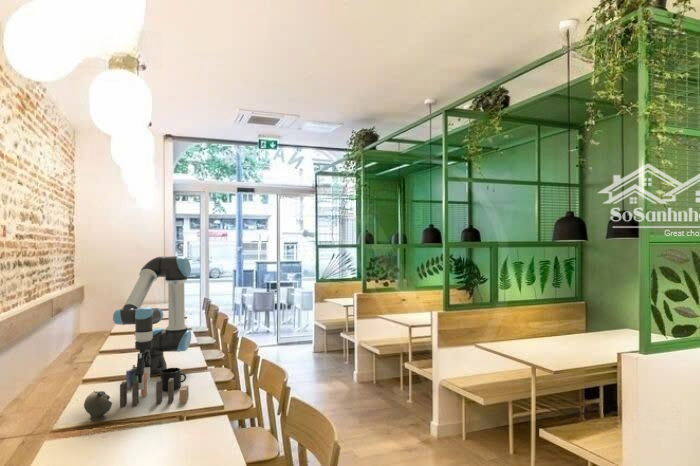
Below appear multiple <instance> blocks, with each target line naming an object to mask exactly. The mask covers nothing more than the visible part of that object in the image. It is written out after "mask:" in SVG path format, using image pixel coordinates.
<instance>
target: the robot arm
mask: <svg viewBox="0 0 700 466" xmlns="http://www.w3.org/2000/svg"><path fill="white" fill-rule="evenodd" d="M191 268H192V267H191V264H190V260H189V259H188V258H187V257H186V256H183V255H182V256H179V255H177V256H173V255H172V256H164V255H163V256H156V257H154V258H152V259H151V260H149V261H148V262H147V263H146V264H144V265H143V267H142V268H141V269H140V271H139V275H138V276H139V277H138V278H137V281H136V283H135V285H134V287H133V288H132V290H131V292H130V295H129V296H128V298H127V299H126V301H125V303H124V305H123V307H122V308H119V309H118V308H117V309H116V310H114V312H113V315H112V320H113V323H114V324H115V325H119V326H121V325H122V326H125V325H135V326H134V327H135V333H134V334H133V336H135V337H134V338H135V342H134V344H135V345H134V349H135V350H136V351H139V353H137V360H136V367H137V369H136V374H135V376H137V381H138V380H139V391H141V390H143V389H144V375H143V373H147V382H150V381H151V374H152V375H153V374H158V373H161V370H163V369H167V368H168V365H167V361H166V359H165V356H164V355H165V354H164V353H166V352H170V353H171V352H173V353H174V352H177V353H179V352H186V351H187V350H188V348H189V347H190V345H191V341H192V332H191V330H189V329H188V326H187V325H186V324H185V311H186V310H185V282H186V281H187V280H188V278H189V277H190V276H191ZM158 278H165V279H164V281H165V282H166V283H167V285H168V286H167V287H168V288H167V289H168V290H167V293H168V297H167V298H168V299H167V301H168V303H167V305H168V306H167V308H168V325H167V327H165V329H164V328H163V327H157V328H153V325H154V324H155V325H156V324H158V323H159V322H161V321H162V320H163V318H164V313H163V310H162V309H160V308H158V307H153V308H152V307H150V306H144V307H142V305H143V303H144V301H145V299H146V298H147V295H148V294H149V291H150V289H151V287H152V285H153V283H154V282H156V281H157V279H158ZM139 372H141V373H139Z"/></svg>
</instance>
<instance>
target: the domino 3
mask: <svg viewBox="0 0 700 466" xmlns="http://www.w3.org/2000/svg"><path fill="white" fill-rule="evenodd" d="M143 375H144V389H143V390H140V398H146V396H147V395H148V381H147V373H143Z"/></svg>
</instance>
